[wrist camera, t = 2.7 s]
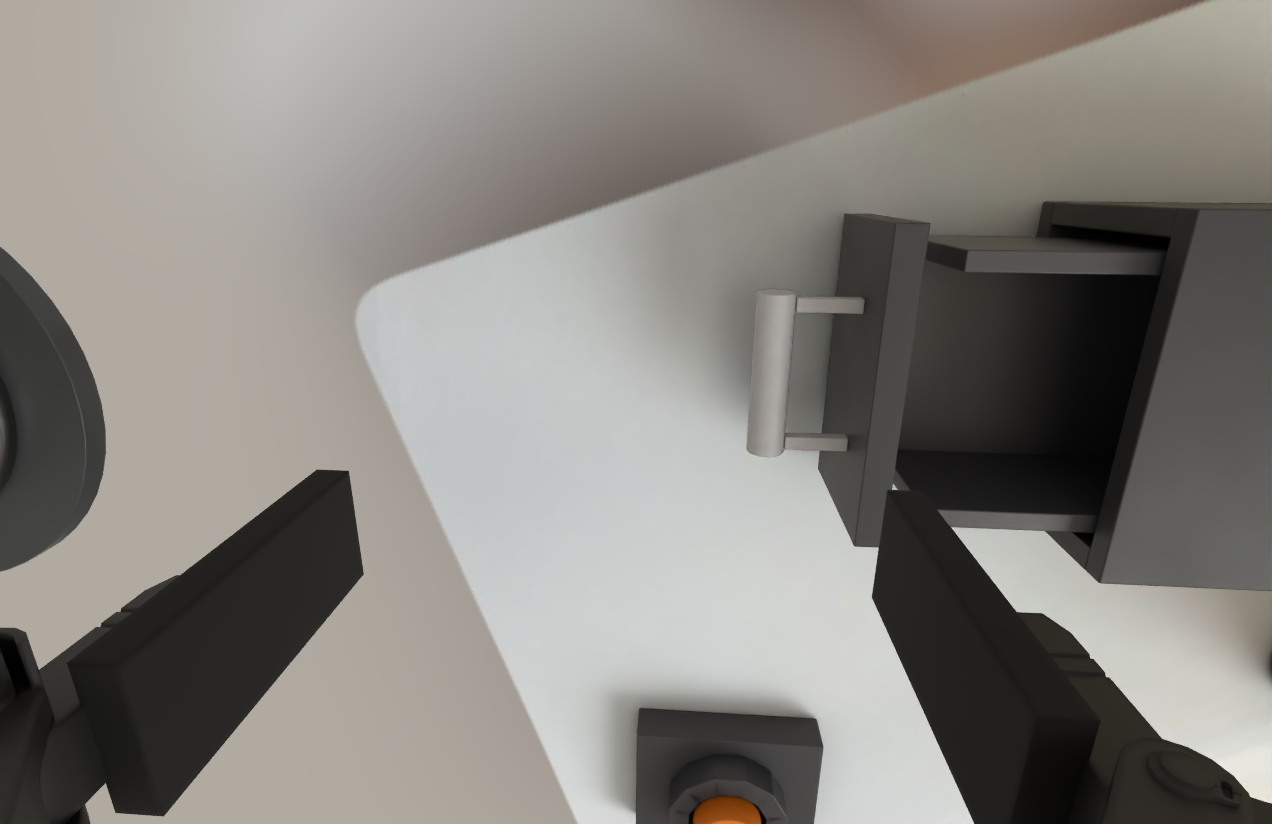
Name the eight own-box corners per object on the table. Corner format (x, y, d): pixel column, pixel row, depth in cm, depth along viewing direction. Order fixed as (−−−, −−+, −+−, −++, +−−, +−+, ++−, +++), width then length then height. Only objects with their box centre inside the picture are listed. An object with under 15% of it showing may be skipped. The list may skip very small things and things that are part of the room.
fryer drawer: (735, 465, 35) (748, 542, 28) (750, 212, 31) (770, 221, 24) (1111, 479, 34) (1232, 562, 26) (1179, 217, 30) (1346, 227, 22)
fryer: (989, 477, 35) (1099, 583, 26) (1043, 201, 31) (1199, 208, 21) (1309, 489, 34) (1545, 604, 25) (1413, 204, 30) (1749, 214, 20)
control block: (638, 815, 45) (633, 873, 41) (639, 708, 42) (634, 759, 38) (803, 827, 44) (814, 887, 40) (816, 718, 41) (829, 772, 38)
